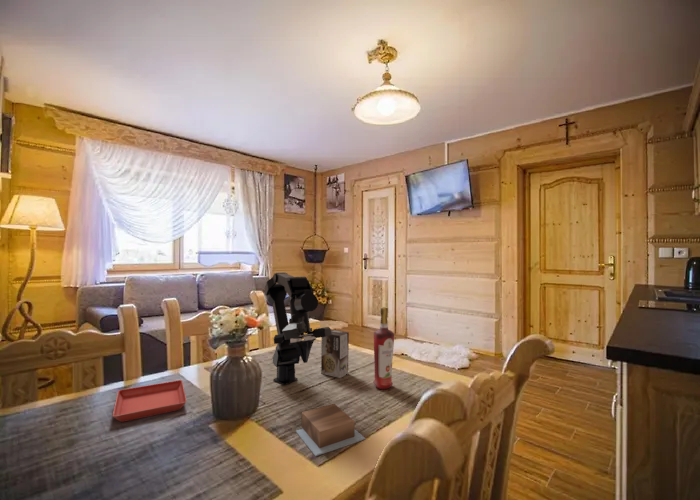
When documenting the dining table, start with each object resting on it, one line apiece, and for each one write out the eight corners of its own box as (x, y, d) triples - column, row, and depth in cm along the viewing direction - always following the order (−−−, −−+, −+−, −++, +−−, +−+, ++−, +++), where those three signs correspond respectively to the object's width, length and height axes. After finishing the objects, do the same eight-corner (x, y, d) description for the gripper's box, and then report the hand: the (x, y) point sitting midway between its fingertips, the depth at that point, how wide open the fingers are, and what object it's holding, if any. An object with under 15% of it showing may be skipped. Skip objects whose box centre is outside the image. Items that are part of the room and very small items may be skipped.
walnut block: (301, 412, 89) (319, 431, 80) (334, 403, 95) (354, 421, 85) (301, 427, 89) (319, 448, 80) (334, 417, 95) (354, 436, 85)
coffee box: (348, 373, 129) (349, 332, 129) (339, 378, 124) (340, 335, 124) (330, 368, 134) (330, 328, 134) (320, 373, 129) (321, 332, 129)
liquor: (386, 381, 122) (387, 305, 122) (397, 388, 116) (398, 308, 116) (368, 384, 119) (370, 306, 119) (379, 392, 113) (380, 310, 112)
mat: (295, 431, 88) (295, 430, 88) (341, 418, 95) (341, 417, 95) (315, 456, 77) (315, 455, 77) (365, 439, 85) (365, 438, 85)
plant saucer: (187, 412, 98) (187, 400, 98) (111, 428, 88) (112, 415, 88) (182, 389, 113) (182, 379, 113) (117, 400, 104) (117, 390, 104)
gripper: (261, 319, 105) (266, 370, 102) (314, 310, 100) (321, 364, 97) (280, 317, 116) (285, 363, 113) (328, 309, 110) (335, 357, 107)
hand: (305, 362), depth 107 cm, fingers closed
